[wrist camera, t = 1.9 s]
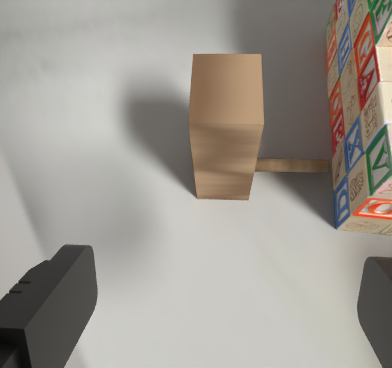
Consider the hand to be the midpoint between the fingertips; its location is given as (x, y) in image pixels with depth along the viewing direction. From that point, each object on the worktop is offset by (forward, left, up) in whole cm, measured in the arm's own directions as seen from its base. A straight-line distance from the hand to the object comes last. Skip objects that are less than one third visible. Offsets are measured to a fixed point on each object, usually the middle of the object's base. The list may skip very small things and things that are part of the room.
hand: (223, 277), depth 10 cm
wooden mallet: (-3, -11, -15) cm, 19 cm away
